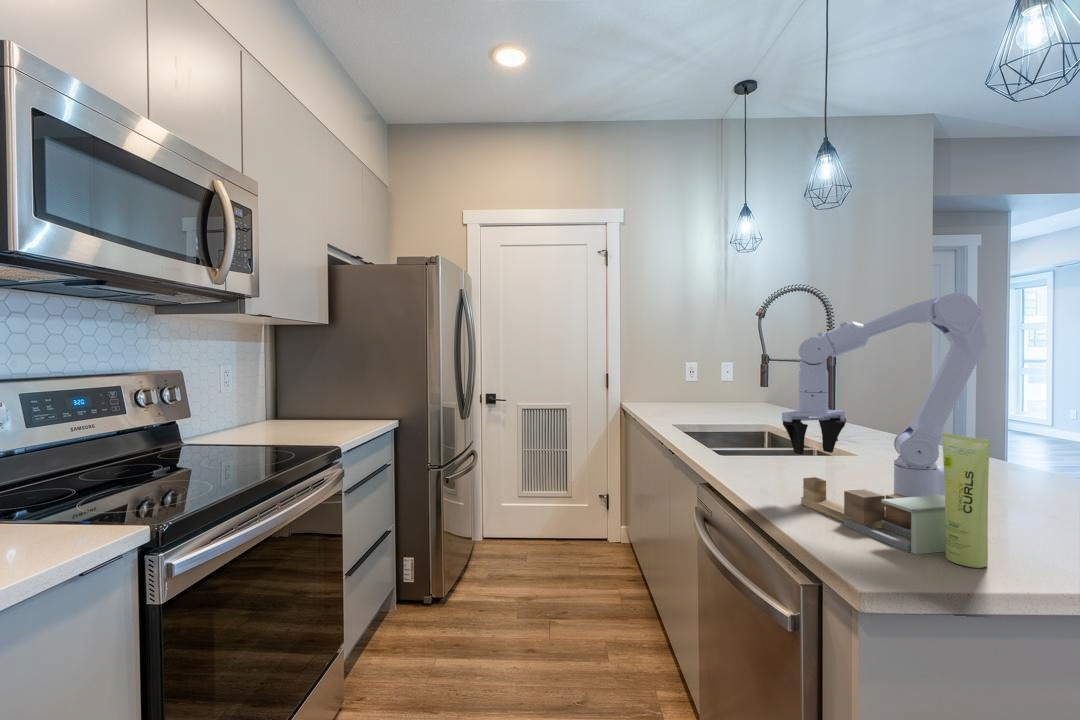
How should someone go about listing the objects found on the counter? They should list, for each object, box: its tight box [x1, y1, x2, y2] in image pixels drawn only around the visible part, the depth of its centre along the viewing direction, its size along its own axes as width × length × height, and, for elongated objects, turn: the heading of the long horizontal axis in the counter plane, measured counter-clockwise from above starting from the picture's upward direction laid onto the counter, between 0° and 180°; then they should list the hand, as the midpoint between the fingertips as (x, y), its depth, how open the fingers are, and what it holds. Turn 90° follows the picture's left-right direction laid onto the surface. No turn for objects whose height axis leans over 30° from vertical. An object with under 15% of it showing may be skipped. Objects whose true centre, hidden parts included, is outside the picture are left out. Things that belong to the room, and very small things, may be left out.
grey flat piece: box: [843, 519, 911, 553], centre depth 90 cm, size 13×13×2 cm
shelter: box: [881, 495, 946, 555], centre depth 85 cm, size 12×6×7 cm, turn 102°
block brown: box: [884, 493, 911, 530], centre depth 96 cm, size 4×8×6 cm, turn 12°
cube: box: [843, 489, 886, 522], centre depth 94 cm, size 4×4×4 cm
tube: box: [941, 432, 991, 569], centre depth 78 cm, size 6×5×20 cm
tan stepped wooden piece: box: [800, 476, 883, 530], centre depth 100 cm, size 4×16×6 cm, turn 12°
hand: (813, 452), depth 113 cm, fingers open, 7 cm apart
